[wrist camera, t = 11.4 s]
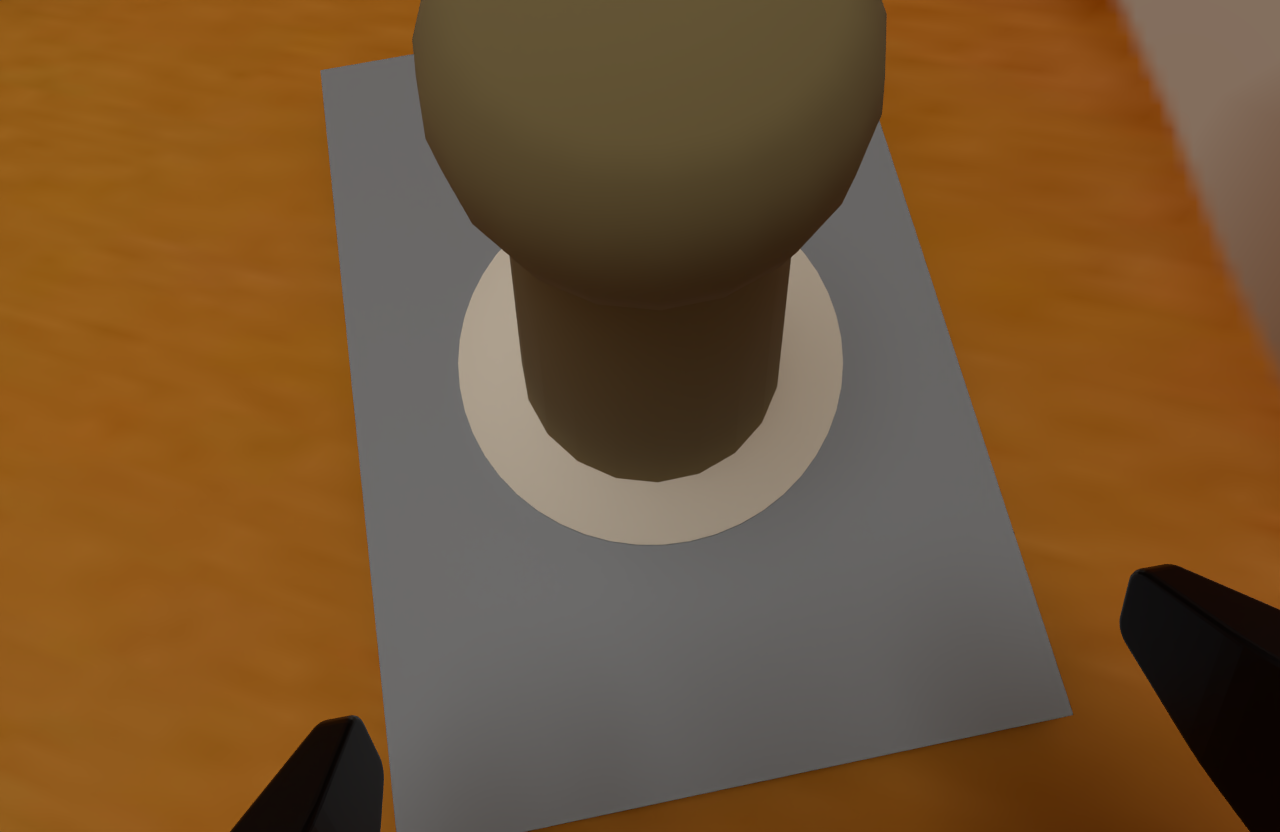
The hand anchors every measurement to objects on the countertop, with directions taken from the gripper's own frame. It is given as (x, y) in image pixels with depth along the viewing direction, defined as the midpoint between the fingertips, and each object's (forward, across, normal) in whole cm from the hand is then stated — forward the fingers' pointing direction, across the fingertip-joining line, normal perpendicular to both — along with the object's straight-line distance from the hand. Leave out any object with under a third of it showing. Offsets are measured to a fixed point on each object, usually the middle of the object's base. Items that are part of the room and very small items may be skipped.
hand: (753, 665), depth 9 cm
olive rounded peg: (+10, 0, +1) cm, 10 cm away
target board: (+11, 0, +1) cm, 11 cm away
